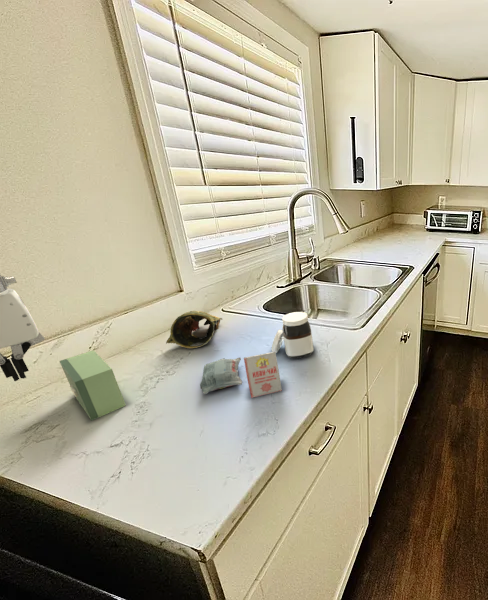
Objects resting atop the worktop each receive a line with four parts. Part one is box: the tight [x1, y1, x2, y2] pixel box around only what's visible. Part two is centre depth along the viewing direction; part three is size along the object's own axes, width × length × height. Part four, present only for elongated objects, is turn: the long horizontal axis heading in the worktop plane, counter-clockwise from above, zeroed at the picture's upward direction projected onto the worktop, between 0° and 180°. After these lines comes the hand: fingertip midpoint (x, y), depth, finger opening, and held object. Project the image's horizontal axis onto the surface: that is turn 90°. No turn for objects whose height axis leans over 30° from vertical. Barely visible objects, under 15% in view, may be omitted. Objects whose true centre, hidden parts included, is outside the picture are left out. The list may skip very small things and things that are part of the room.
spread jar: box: [270, 311, 314, 360], centre depth 93 cm, size 12×11×12 cm
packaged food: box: [199, 357, 243, 395], centre depth 81 cm, size 9×12×5 cm
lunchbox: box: [59, 349, 127, 422], centre depth 73 cm, size 6×14×10 cm, turn 54°
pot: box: [165, 310, 223, 349], centre depth 103 cm, size 17×11×18 cm
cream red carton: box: [243, 351, 283, 399], centre depth 77 cm, size 4×7×10 cm, turn 113°
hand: (19, 377), depth 64 cm, fingers closed
